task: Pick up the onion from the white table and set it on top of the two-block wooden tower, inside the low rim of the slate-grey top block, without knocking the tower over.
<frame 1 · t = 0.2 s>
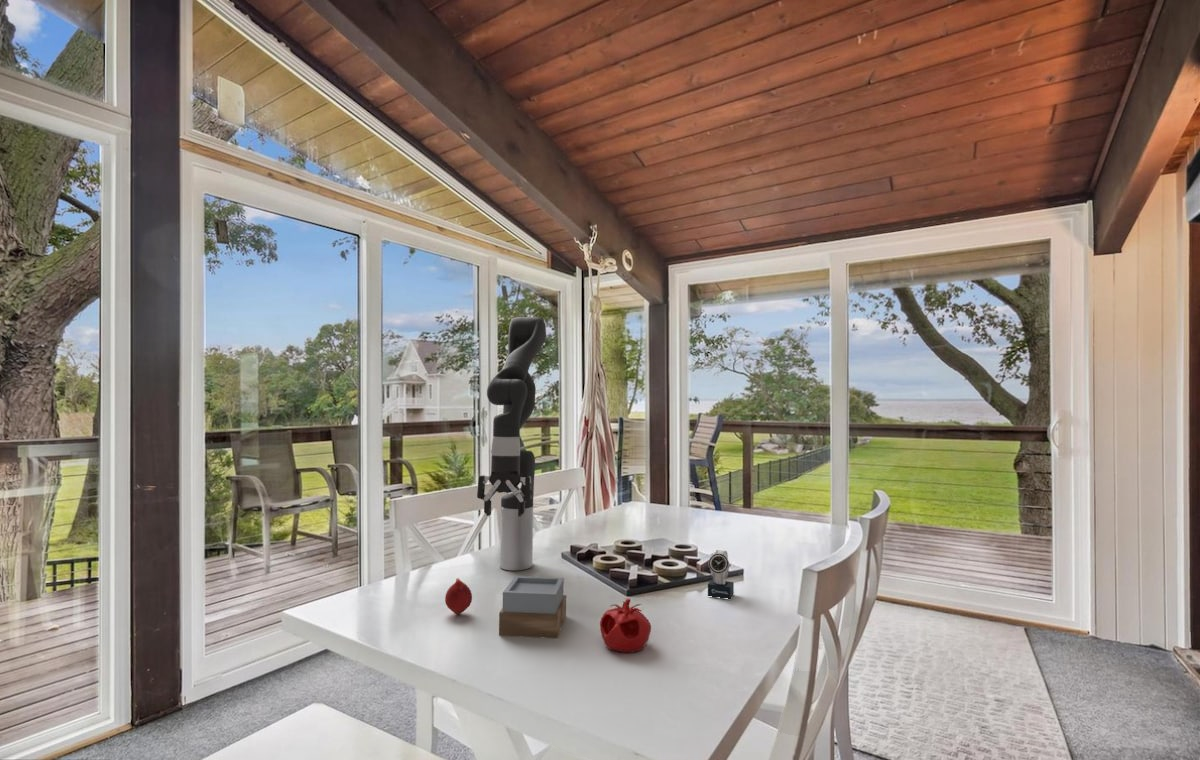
hand: (504, 515, 155), 17 cm above the table, tool pointing down, fingers open, 8 cm apart
pomegranate: (625, 647, 116), on the table
bottom block: (533, 627, 125), on the table, touching top block
watch: (720, 596, 145), on the table
top block: (534, 603, 125), point 5 cm above the table, touching bottom block
onion: (458, 615, 131), on the table
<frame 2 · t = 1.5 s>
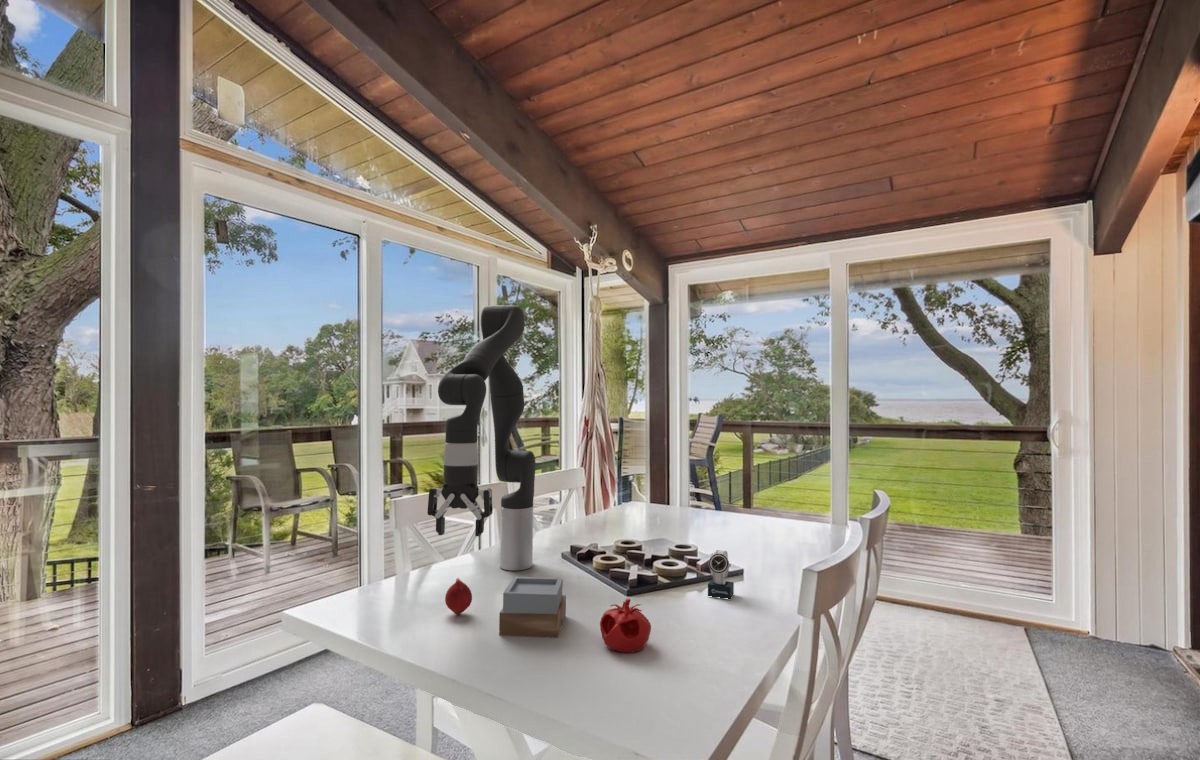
hand: (459, 535, 132), 18 cm above the table, tool pointing down, fingers open, 8 cm apart
nothing on the table moved.
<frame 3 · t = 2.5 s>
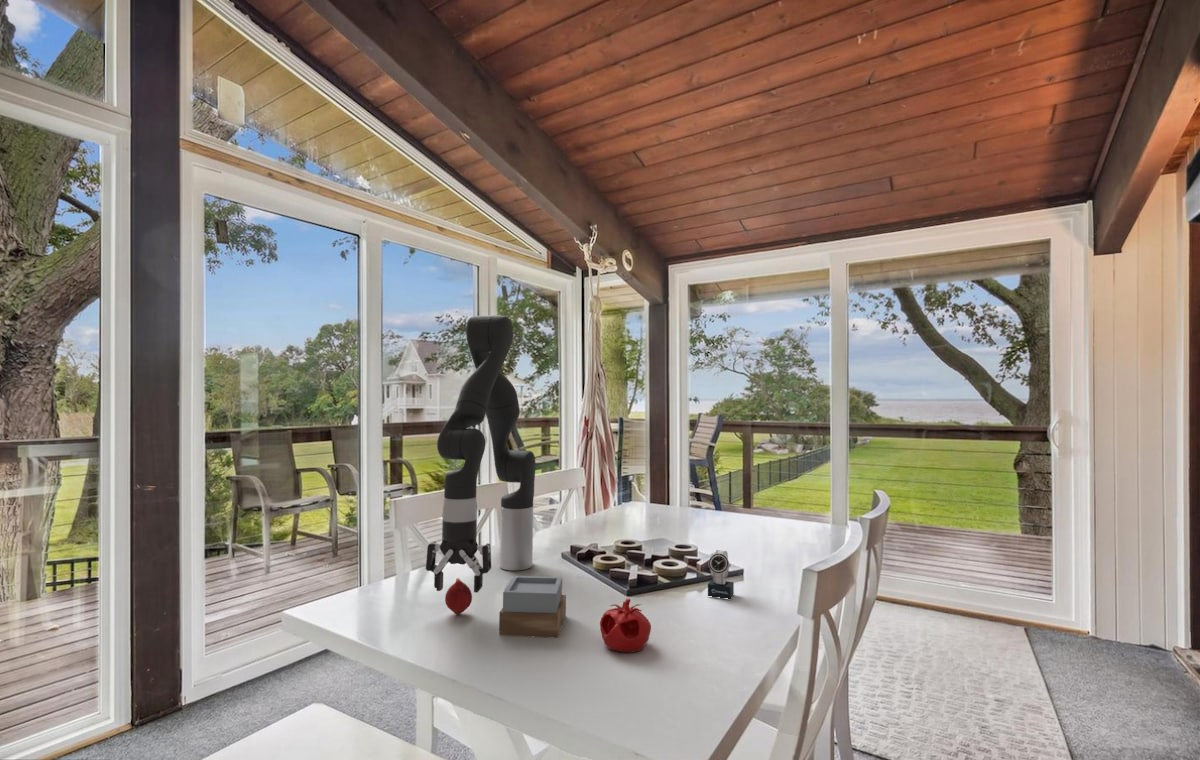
hand: (458, 590, 131), 5 cm above the table, tool pointing down, fingers open, 8 cm apart
bottom block: (533, 626, 126), on the table
top block: (533, 603, 126), point 5 cm above the table
everything else where it was.
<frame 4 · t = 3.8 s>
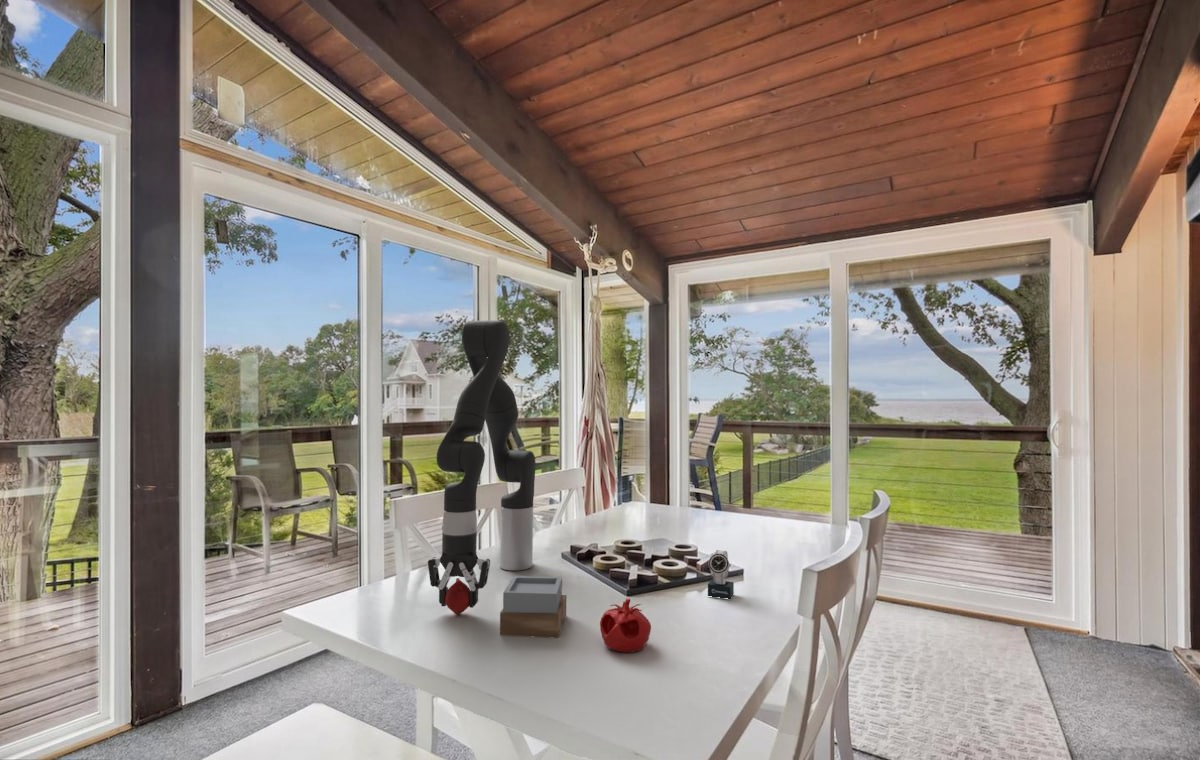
hand: (458, 605, 131), 2 cm above the table, tool pointing down, fingers closed on onion, 6 cm apart
onion: (458, 615, 131), on the table, touching gripper
everything else where it was.
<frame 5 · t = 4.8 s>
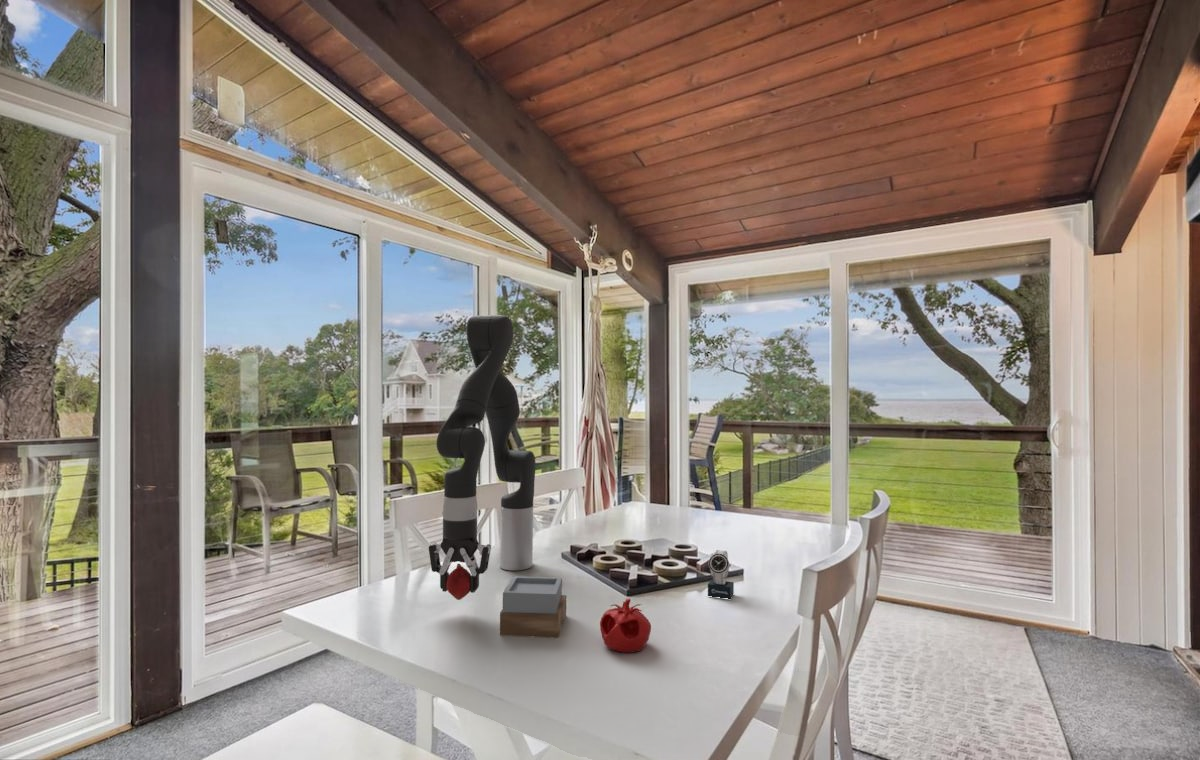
hand: (459, 590, 132), 5 cm above the table, tool pointing down, fingers closed on onion, 6 cm apart
bottom block: (534, 627, 126), on the table, touching top block
top block: (533, 603, 126), point 5 cm above the table, touching bottom block
onion: (459, 600, 132), point 3 cm above the table, touching gripper
everything else where it was.
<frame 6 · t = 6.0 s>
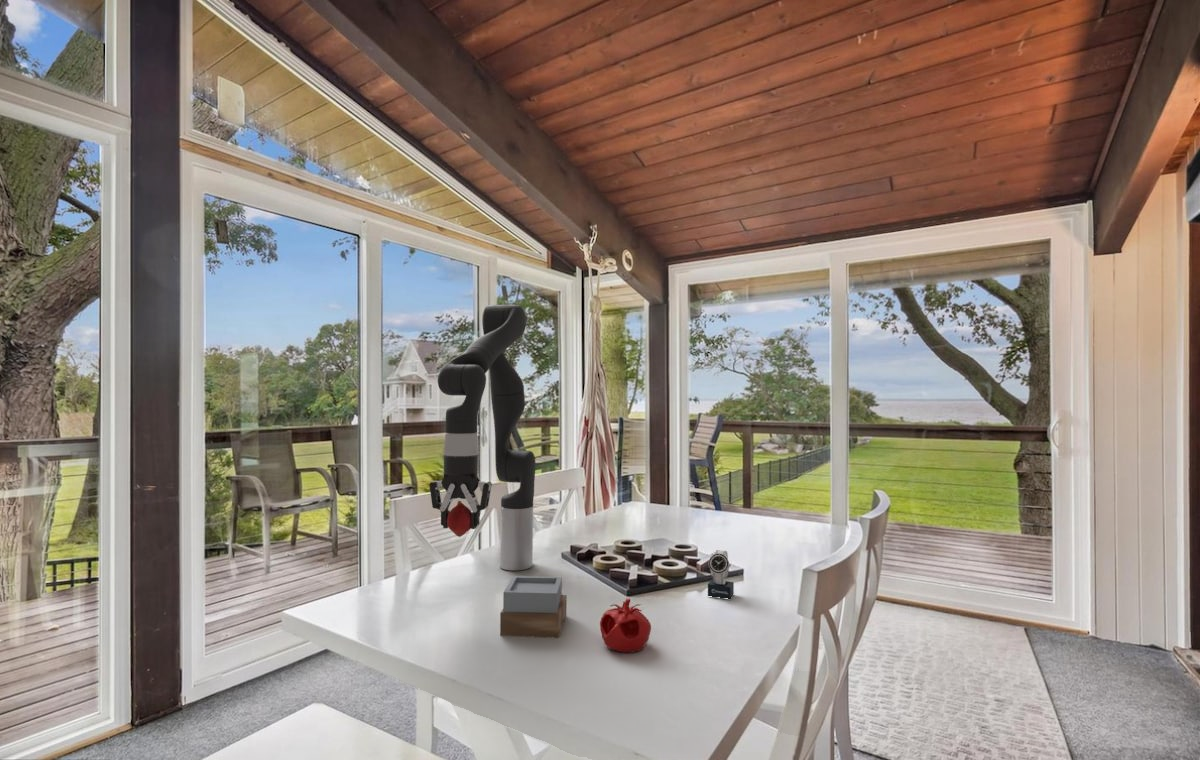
hand: (460, 527, 132), 19 cm above the table, tool pointing down, fingers closed on onion, 6 cm apart
bottom block: (534, 626, 126), on the table
top block: (533, 603, 126), point 5 cm above the table
onion: (459, 537, 132), point 17 cm above the table, touching gripper
everything else where it was.
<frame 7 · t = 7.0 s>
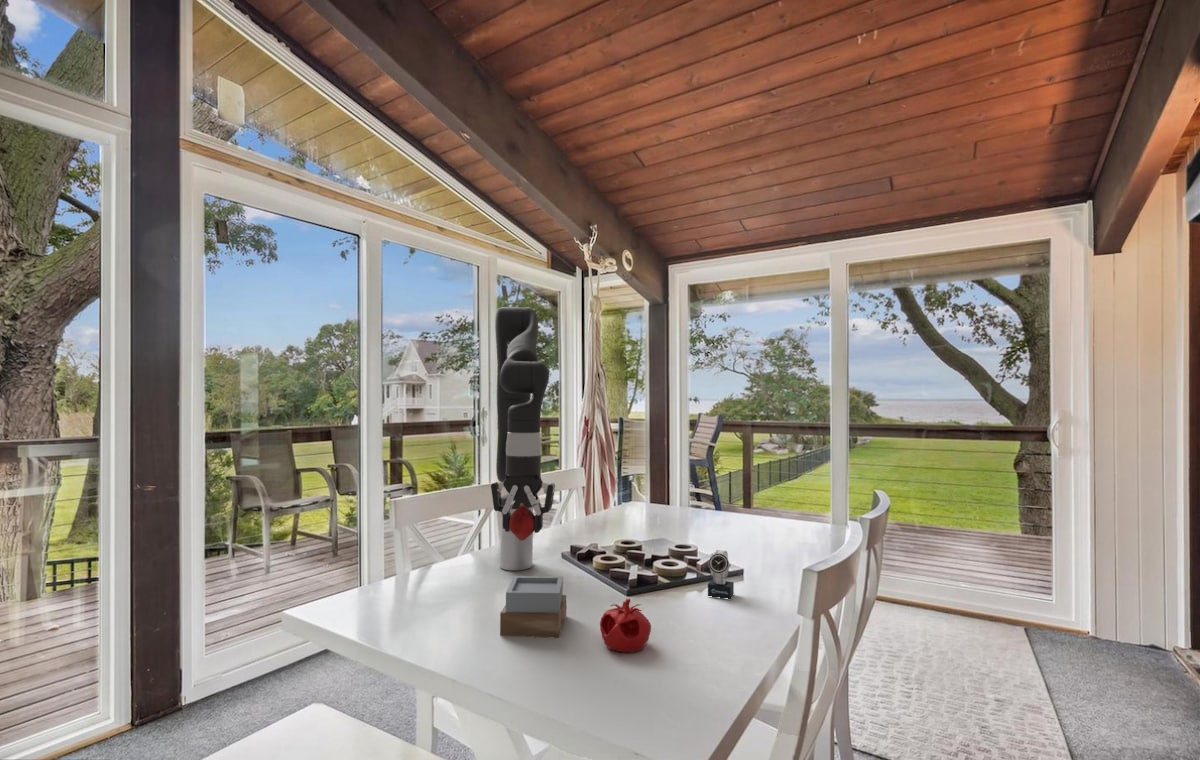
hand: (522, 531, 127), 20 cm above the table, tool pointing down, fingers closed on onion, 6 cm apart
onion: (522, 541, 126), point 18 cm above the table, touching gripper
everything else where it was.
when the fingers open (11 cm above the table, at t = 9.7 s): onion drops 2 cm, resting on top block.
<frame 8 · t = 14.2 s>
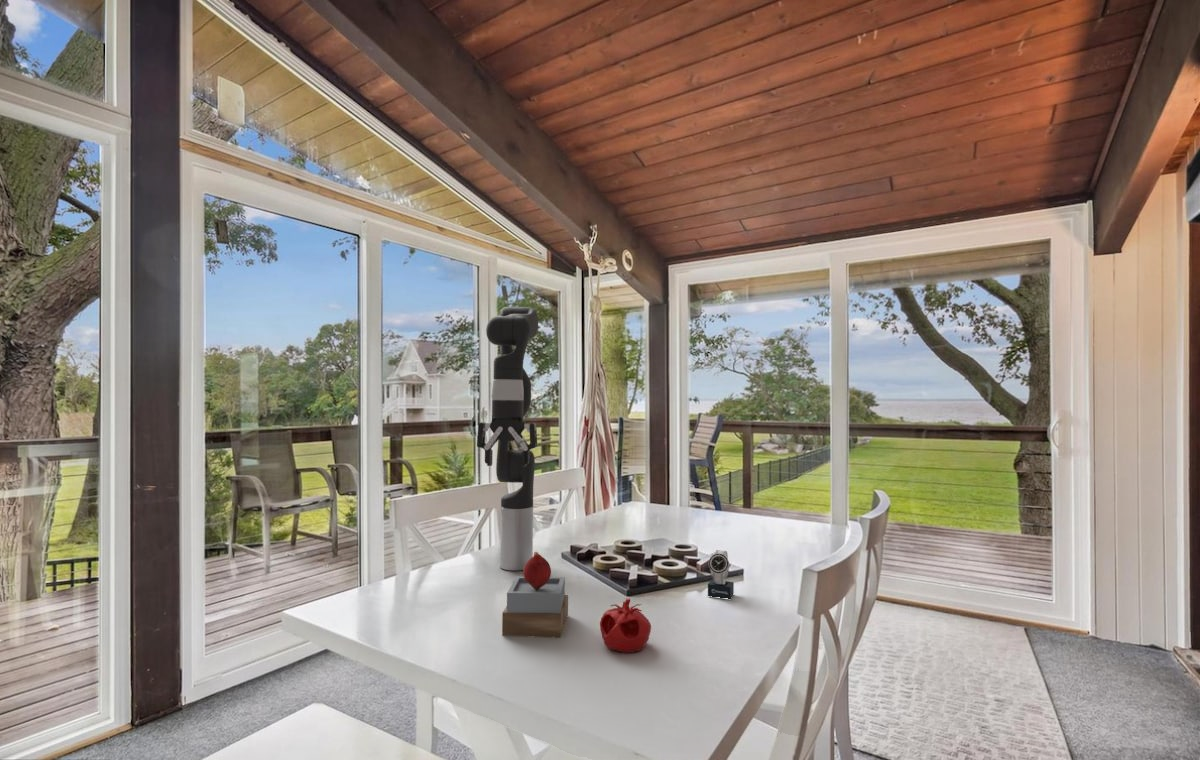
hand: (506, 466, 141), 32 cm above the table, tool pointing down, fingers open, 8 cm apart
bottom block: (536, 626, 126), on the table, touching top block
top block: (537, 603, 126), point 5 cm above the table, touching bottom block, onion
onion: (537, 590, 126), point 7 cm above the table, touching top block
everything else where it was.
at the end: onion inside the target area on the bottom block (0.2 cm from its centre), point 7.8 cm above the bottom block's base; top block 0.2 cm off-centre on the bottom block, point 5.0 cm above the bottom block's base; bottom block moved 0.7 cm from its start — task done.
